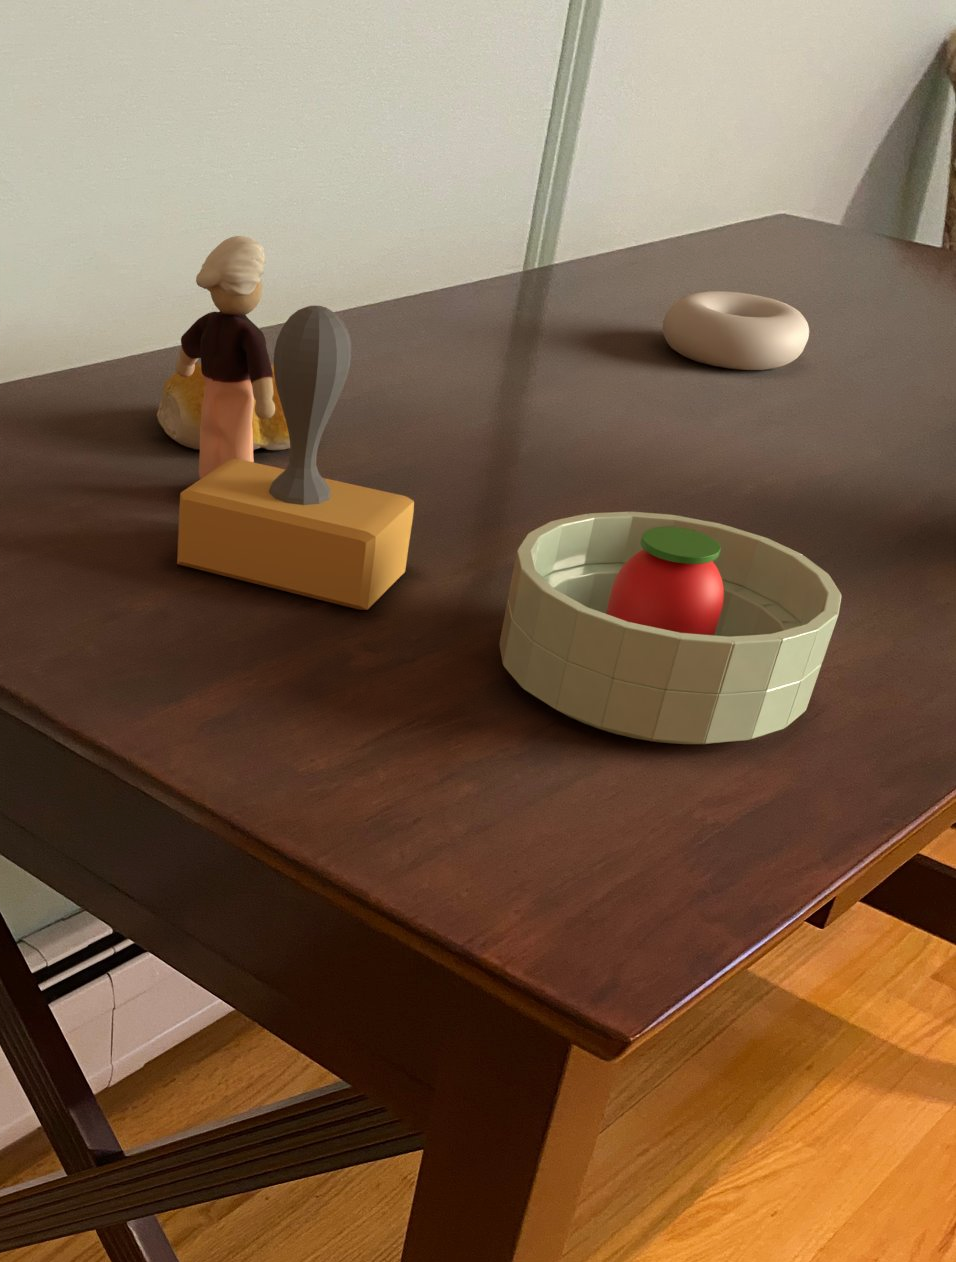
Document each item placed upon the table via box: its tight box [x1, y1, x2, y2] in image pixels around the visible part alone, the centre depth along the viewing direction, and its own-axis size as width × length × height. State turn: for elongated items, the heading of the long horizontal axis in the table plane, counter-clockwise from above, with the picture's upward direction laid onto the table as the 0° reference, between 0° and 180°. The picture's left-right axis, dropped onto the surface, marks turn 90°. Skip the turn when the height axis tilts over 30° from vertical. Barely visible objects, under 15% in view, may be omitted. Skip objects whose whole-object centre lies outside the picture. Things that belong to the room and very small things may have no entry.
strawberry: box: [606, 527, 724, 635], centre depth 63 cm, size 5×5×6 cm
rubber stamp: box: [176, 305, 415, 611], centre depth 69 cm, size 10×6×12 cm, turn 64°
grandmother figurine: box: [175, 235, 275, 480], centre depth 76 cm, size 8×4×13 cm, turn 48°
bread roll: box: [156, 363, 290, 451], centre depth 87 cm, size 8×9×4 cm
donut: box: [662, 290, 810, 371], centre depth 105 cm, size 10×3×10 cm
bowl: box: [498, 511, 843, 745], centre depth 64 cm, size 13×13×5 cm
